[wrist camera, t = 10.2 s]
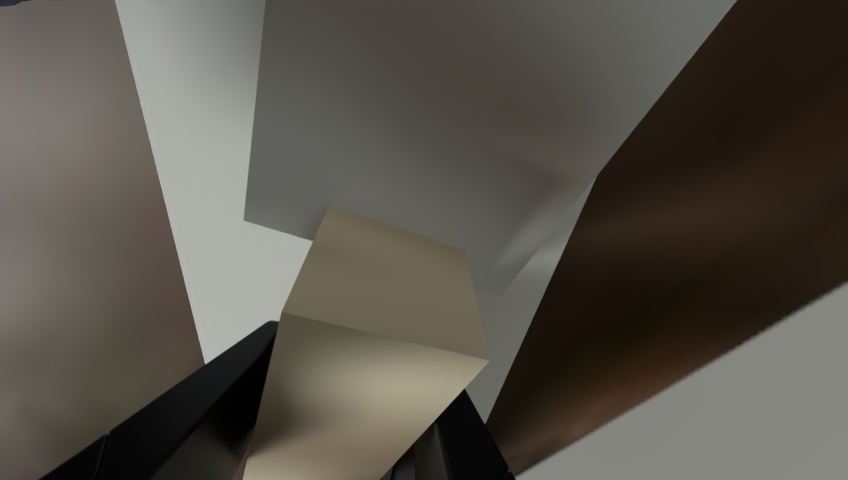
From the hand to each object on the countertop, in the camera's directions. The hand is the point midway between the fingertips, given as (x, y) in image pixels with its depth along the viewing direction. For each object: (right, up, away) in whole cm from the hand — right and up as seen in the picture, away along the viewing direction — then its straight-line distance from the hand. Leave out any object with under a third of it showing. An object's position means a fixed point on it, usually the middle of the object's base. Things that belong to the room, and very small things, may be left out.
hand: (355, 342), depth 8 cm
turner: (+1, +3, -1) cm, 3 cm away
